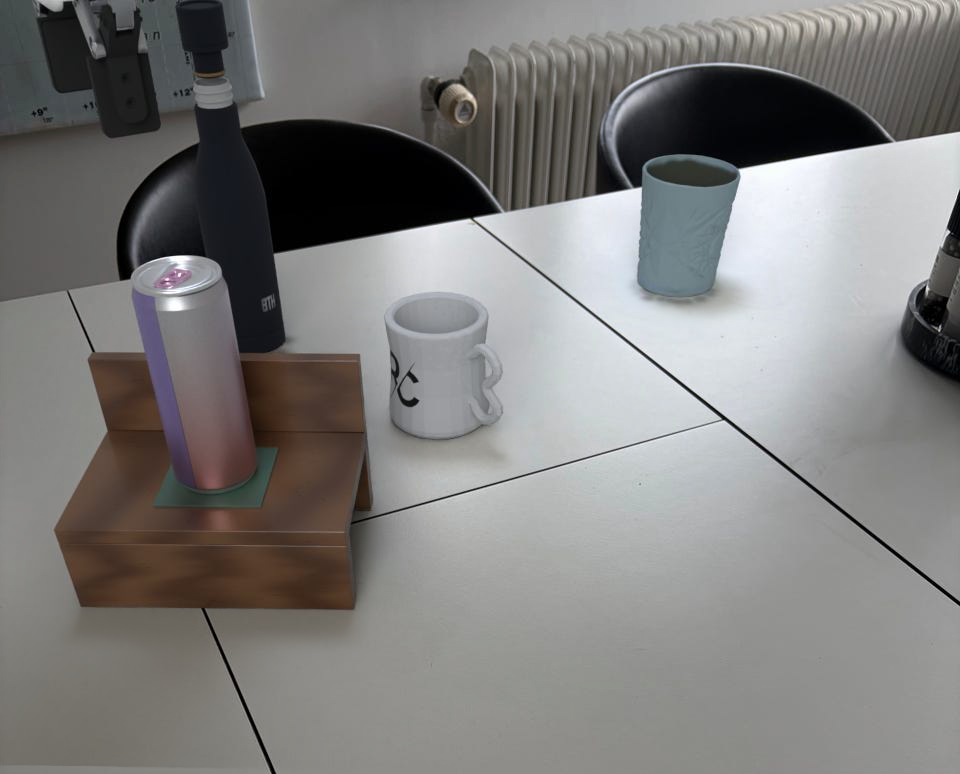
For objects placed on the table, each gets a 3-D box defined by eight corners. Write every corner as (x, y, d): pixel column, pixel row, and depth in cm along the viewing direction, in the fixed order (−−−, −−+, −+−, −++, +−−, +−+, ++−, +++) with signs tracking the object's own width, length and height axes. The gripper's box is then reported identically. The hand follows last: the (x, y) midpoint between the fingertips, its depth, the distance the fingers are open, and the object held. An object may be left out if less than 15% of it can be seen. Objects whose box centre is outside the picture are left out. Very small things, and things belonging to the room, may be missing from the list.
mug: (369, 417, 95) (360, 313, 88) (441, 382, 100) (438, 281, 93) (464, 469, 89) (462, 362, 82) (536, 429, 93) (540, 325, 87)
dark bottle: (229, 325, 109) (170, -5, 89) (290, 326, 109) (244, -5, 88) (216, 354, 104) (150, 12, 84) (279, 355, 104) (228, 12, 84)
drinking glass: (621, 266, 120) (631, 156, 112) (705, 259, 121) (720, 150, 113) (647, 304, 112) (660, 189, 104) (736, 296, 114) (755, 182, 105)
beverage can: (160, 489, 74) (108, 286, 64) (201, 446, 78) (158, 249, 68) (235, 504, 73) (195, 298, 63) (273, 459, 77) (240, 259, 67)
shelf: (80, 607, 76) (26, 454, 67) (132, 496, 86) (91, 351, 77) (353, 610, 75) (336, 456, 66) (373, 498, 86) (360, 353, 77)
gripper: (-97, -283, 53) (3, 83, 65) (-17, -270, 43) (86, 165, 54) (51, -283, 56) (121, 66, 68) (160, -271, 46) (221, 141, 57)
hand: (105, 110), depth 61 cm, fingers open, 9 cm apart
